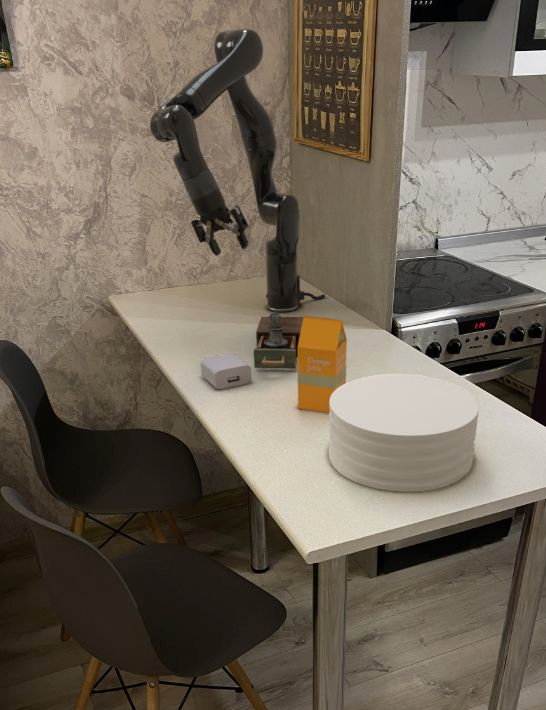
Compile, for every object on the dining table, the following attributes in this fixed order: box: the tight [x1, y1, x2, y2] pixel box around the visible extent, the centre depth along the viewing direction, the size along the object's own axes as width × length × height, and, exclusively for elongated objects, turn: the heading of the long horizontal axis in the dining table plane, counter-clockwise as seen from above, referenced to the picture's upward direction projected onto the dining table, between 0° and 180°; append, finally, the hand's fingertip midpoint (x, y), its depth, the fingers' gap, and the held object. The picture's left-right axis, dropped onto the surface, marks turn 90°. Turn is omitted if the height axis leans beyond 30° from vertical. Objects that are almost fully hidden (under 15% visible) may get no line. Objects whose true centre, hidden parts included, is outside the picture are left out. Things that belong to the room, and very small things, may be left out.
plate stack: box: [328, 373, 480, 493], centre depth 145 cm, size 28×28×12 cm
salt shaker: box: [264, 309, 288, 349], centre depth 188 cm, size 6×6×12 cm
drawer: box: [253, 335, 297, 370], centre depth 188 cm, size 16×10×5 cm, turn 176°
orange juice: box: [297, 315, 348, 414], centre depth 164 cm, size 8×9×20 cm
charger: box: [200, 353, 252, 390], centre depth 183 cm, size 5×9×15 cm
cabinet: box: [255, 316, 304, 357], centre depth 199 cm, size 12×11×6 cm
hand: (231, 250), depth 193 cm, fingers open, 8 cm apart
